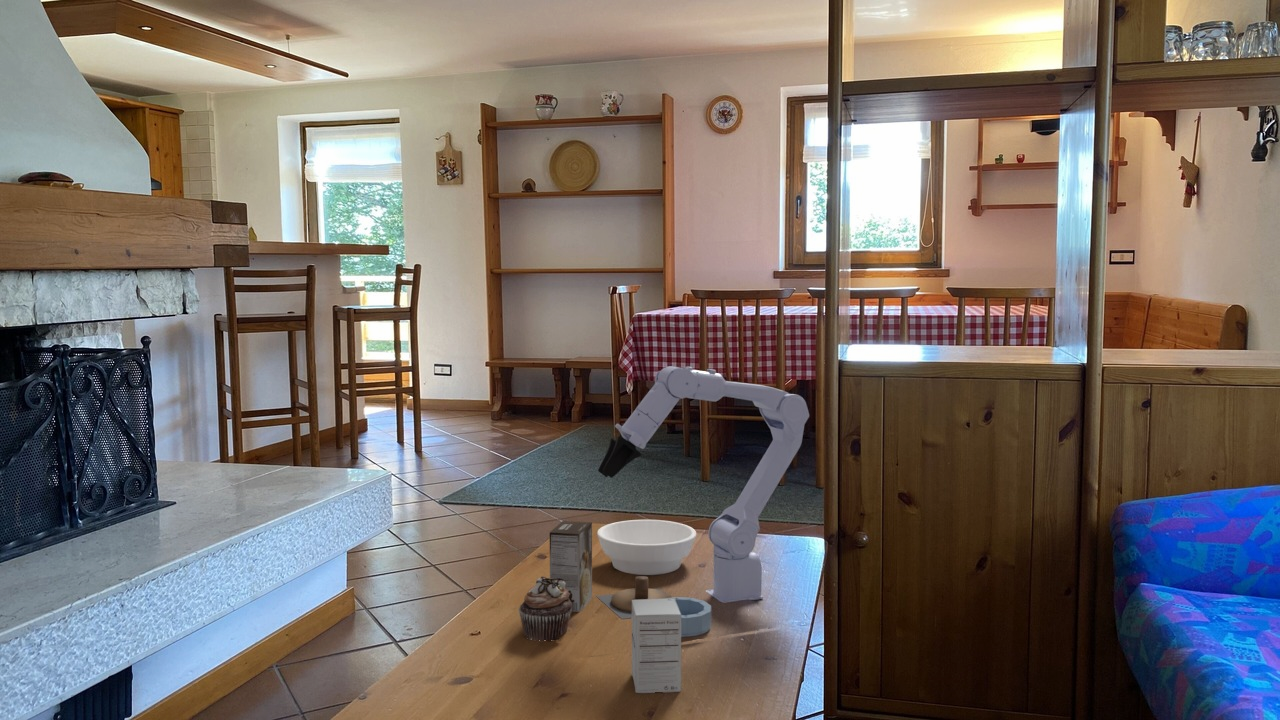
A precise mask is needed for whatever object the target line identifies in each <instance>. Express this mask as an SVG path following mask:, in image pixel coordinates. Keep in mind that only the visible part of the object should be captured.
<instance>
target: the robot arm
mask: <svg viewBox="0 0 1280 720" xmlns="http://www.w3.org/2000/svg"><path fill="white" fill-rule="evenodd" d="M723 397H727V398H734V399H739V400H745V401H751V402H752V403H753V405H754V407H757V408H758V409H759V413H760V414H761V416H762V418H763V420H764V422H765V423H766V424H767V427H768V428H769V429H770V433H771V437H772V440H771V442H770V444H769V446H768V448H767V449H766V452H765V453H764V454H763V455H762V458H761V459H760V461H759V463H758V464H757V466H756V468H755V469H754V471H753V473H751V476H750V478H749V479H748V481H747V483H746V485H745V486H744V488H743V489H742V491H741V493H740V495H739V496H738V498H737V499H736V501H735V503H734V504H732V505H730V506H728V507H726V508H725V509H724V510H722V513H721V514H720V515H719V517H717V518H716V519H713V521H712V522H711V523H710V525H709V528H708V533H707V534H708V539H709V541H710V542H711V544H712V545H713V570H712V571H713V572H712V573H713V575H712V576H713V577H712V578H713V579H712V580H713V581H712V589H707V590H705V592H706V593H707V594H709V595H710V596H712V597H713V598H715V600H716V599H717V601H719V602H721V603H722V604H725V603H731V602H732V603H733V602H737V601H744V600H750V601H756V600H763V599H764V595H762V579H763V578H762V575H763V574H762V570H763V567H762V562H761V558H760V556H759V555H758V554H757V553H756V552H754V551H753V550H754V548H755V545H756V539H757V536H758V534H759V532H760V530H761V528H760V522H759V517H760V515H761V513H762V511H763V510H764V508H765V507H766V505H767V503H768V502H769V500H770V498H771V496H772V495H773V493H774V491H775V489H776V488H777V487H778V485H779V483H780V481H781V480H782V478H783V476H784V475H785V474H786V472H787V469H788V468H789V467H790V464H791V463H792V461H793V459H794V458H795V457H796V455H797V453H798V451H799V449H800V448H801V446H802V444H803V443H802V442H803V436H804V431H805V424H806V423H807V422H808V419H809V418H810V413H809V409H808V405H807V402H806V400H805V399H804V398H803V397H802V396H801V395H799V394H796V393H795V394H794V393H789V392H787V391H785V390H782V389H778V388H775V387H772V386H768V385H767V386H766V385H763V384H756V383H746V382H739V381H728V380H726V379H725V378H724V377H723V375H722V374H721V373H719V372H718V373H717V370H716V369H712V368H711V369H710V368H707V369H706V371H705V370H698V369H694V368H693V367H692V366H685V367H684V368H682V367H678V366H672V365H671V366H669V365H668V366H666V367H663V368H662V369H661V370H658V371H657V372H656V373H655V378H654V384H653V386H652V387H651V388H650V390H649V391H648V392H647V393H646V394H645V396H644V397H643V398H642V400H641V401H640V402H639V404H638V405H637V406H636V408H635V410H633V412H632V413H631V414H630V416H629V417H628V418H627V419H626V420H625V422H624V423H623V425H621V424H619V423H616V424H615V425H614V427H615V428H616V429H617V430H618V432H619V433H620V435H617V436H616V439H615V438H614V437H610V439H609V443H608V448H607V451H606V453H605V455H604V456H603V460H602V461H601V463H600V465H599V467H598V470H597V471H598V472H599V473H600V474H602V476H604V477H606V478H607V477H609V478H611V479H612V478H613V477H615V476H616V475H617V474H618V473H619V472H620V471H621V470H622V469H624V468H625V466H627V465H628V464H629V463H630V462H632V461H634V460H635V459H637V458H639V457H641V456H642V455H643V454H642V453H641V452H640V451H638V449H637V448H640V449H642V450H644V449H645V448H646V447H647V443H648V442H649V441H650V440H651V438H652V437H653V436H654V434H656V432H657V430H658V429H659V428H660V426H661V425H662V423H663V422H664V421H665V420H666V418H667V417H668V415H669V414H670V413H671V412H672V410H673V409H674V408H675V406H676V405H677V403H678V402H679V401H680V399H681V400H682V399H685V398H687V399H694V400H700V401H708V402H717V401H719V400H721V399H722V398H723Z"/></svg>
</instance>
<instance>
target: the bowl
mask: <svg viewBox="0 0 1280 720" xmlns="http://www.w3.org/2000/svg"><path fill="white" fill-rule="evenodd" d="M596 531H597V533H596V534H597V538H598V540H599V544H600V546H601V549H602V552H603V553H604V554H605V555H606V556H607V557H609V558H610V560H611V561H610V562H612V566H613V568H614V569H616V570H618V571H620V572H622V573H626V574H630V575H637V576H638V575H639V576H655V575H656V576H657V575H664V574H668V573H672V572H674V571H675V572H676V570H678V569H679V568H680V567H681V565H682V562H683V558H685V557H687V556H688V555H690V553H691V551H692V548H693V545H694V542H695V539H696V536H697V531H696V530H695V529H694V528H693V527H692V526H689V525H687V524H685V523H684V524H683V523H681V522H676V521H670V520H663V519H662V520H661V519H632V520H631V519H630V520H622V521H617V522H612V523H608V524H605V525H603V526H602V527H600V528H598V530H596Z"/></svg>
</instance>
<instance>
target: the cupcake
mask: <svg viewBox="0 0 1280 720" xmlns="http://www.w3.org/2000/svg"><path fill="white" fill-rule="evenodd" d="M565 585H566V583H565V582H564V579H562V578H550V577H548V578H547V577H546V576H540V577H538V578H537V579H536V580H535V585H534V586H533V587H531V588H530V589H528V592H527V593H525V595H524V601H523V602H522V603H521V604H519V607H518V613H519V617H520V622H521V626H522V632H523V633H522V634H523V636H525V637H524V638H526V639H527V638H528V639H527V640H529V639H532V640H531V641H533V640H536V641H535V642H537V641H539V640H540V641H544V640H546V641H548V642H552V641H551V640H555V641H558V640H559V637H561V636H563V635H565V634H566V633H567V632H568V627H569V621H570V618H571V614H572V611H571V610H572V602H571V601H570V599H569V598H568V597H569V592H568V591H567V590H566V589H565Z"/></svg>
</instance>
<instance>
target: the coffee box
mask: <svg viewBox="0 0 1280 720" xmlns="http://www.w3.org/2000/svg"><path fill="white" fill-rule="evenodd" d="M549 578H562V579H564V582H565V583H566V585H565V589H566V590H567V591H568V592H569V597H568V598H569V599H570V601H571V602H572V610H571V613H572V612H576V613H580V612H582V611H583V609H584V608H585V607H586V605H588V603H590V601H591V600H592V598H593V522H592V521H572V520H571V521H567V520H565V521H563V520H562V521H561V522H560V523H559V524H558V525H556V526H555V527H554V528H552V529H551V530H550V531H549Z"/></svg>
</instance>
